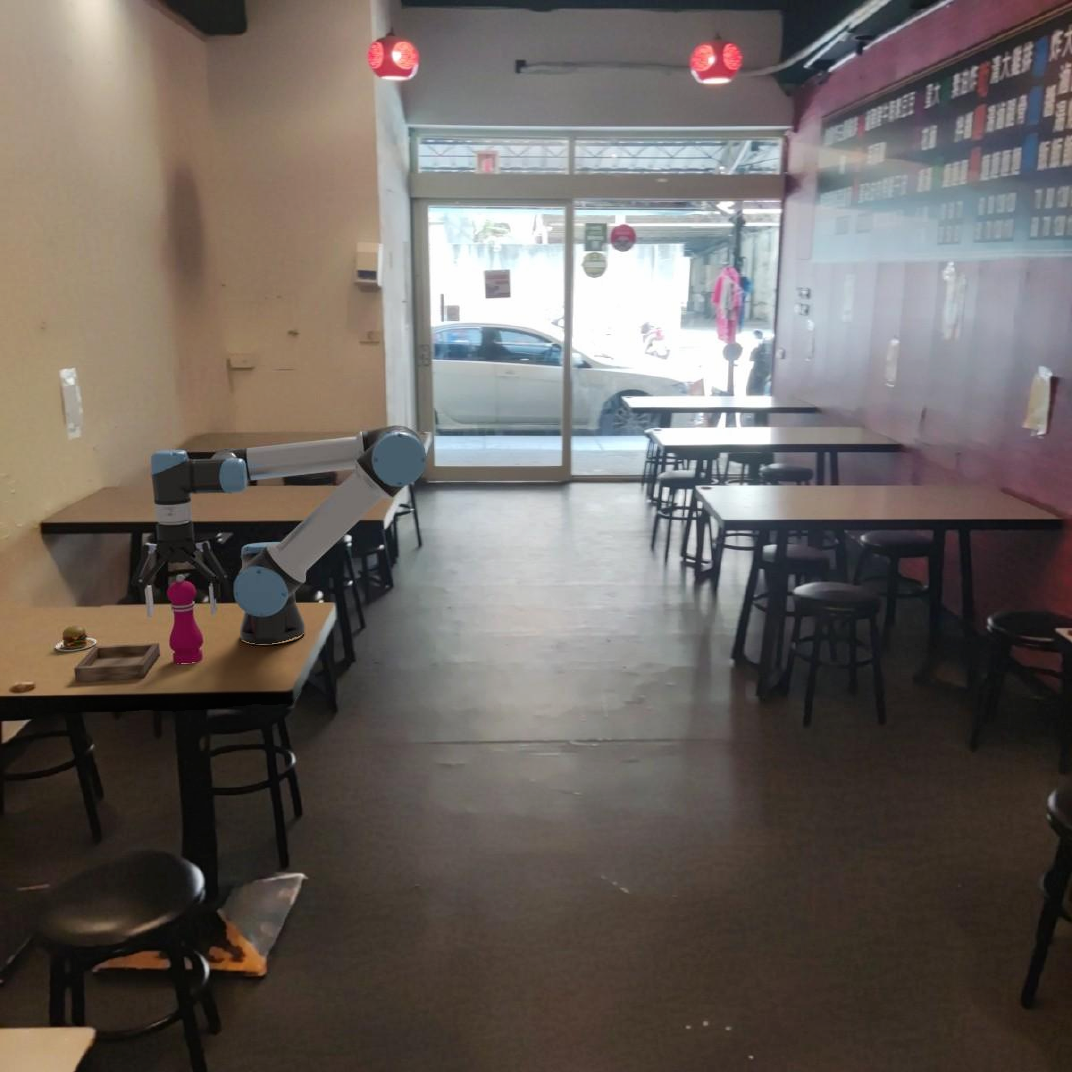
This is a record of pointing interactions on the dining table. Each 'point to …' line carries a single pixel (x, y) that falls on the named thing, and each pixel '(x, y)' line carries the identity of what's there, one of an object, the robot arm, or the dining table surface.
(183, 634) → the pepper mill
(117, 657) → the walnut tray
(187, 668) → the dining table surface
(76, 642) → the hamburger
